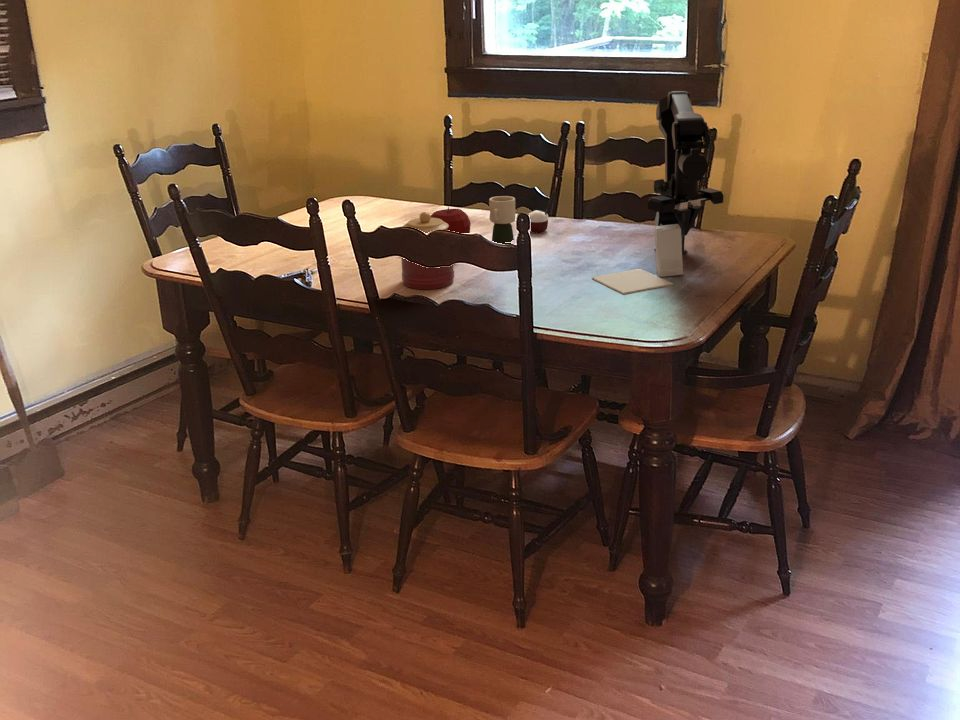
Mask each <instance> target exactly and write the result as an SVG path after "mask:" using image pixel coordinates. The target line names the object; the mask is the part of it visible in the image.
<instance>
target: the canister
mask: <svg viewBox="0 0 960 720" xmlns="http://www.w3.org/2000/svg"><path fill="white" fill-rule="evenodd" d="M430 216H431V214H430V213H429V212H427V211H423V212H421V213H420V215H419V218H413V219H410V220H408V221H407V222H406V223H405V224H404V225H403V226H402V227H411V228H416V229H419V230H421V231H423V232H425V233H428V232H430V231H433V230H447V229H448V227H449V225H448V224H447V223H446V222H444V221H443V220H441V219H438V218H430ZM400 258H401V257H400ZM454 278H455V270H454V264H453V265H452V266H450V267H440V268H426V267H422V266H420V265H417V264H415V263H412V262H409V261H407V260H406V259H403V258H401V279H402V281H403V282H402V283H403V285H404V286H406V287H407V288H410V289H414V290H436V289H443V288H444V287H447V286H450V285H451V284H453V283H454V280H455V279H454Z"/></svg>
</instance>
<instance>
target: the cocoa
mask: <svg viewBox="0 0 960 720" xmlns="http://www.w3.org/2000/svg"><path fill="white" fill-rule="evenodd" d="M554 194H555V189H553V190H552V193H551V195H550V198H549V201H548V203H547V206H546V209H545V211H542V210H537V209H536V210H533V211H532V212H529V213H528V214H529V215H530V219H531V232H530V233H532V234H543V233H544V232H546V231H547V230H548V225H549V215H548V210H549V208H550V205H551V203H552V201H553V198H554Z"/></svg>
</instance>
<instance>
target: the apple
mask: <svg viewBox="0 0 960 720" xmlns="http://www.w3.org/2000/svg"><path fill="white" fill-rule="evenodd" d="M430 218H438V219H441V220H443V221H444V222H446V223H447V224H448V225H449V227H448V229H447V230H450V231H455V232H459V233H470V234H471V225H472V224H471V221H470V217H469V215H468V214H467V213H466V212H465V211H464V210H462V209H460V208H450V207H449V206H448V207H447V209H446V208H444V209H440V210H436V211H434V212H433V213H431V214H430Z"/></svg>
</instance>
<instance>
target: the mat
mask: <svg viewBox="0 0 960 720" xmlns="http://www.w3.org/2000/svg"><path fill="white" fill-rule="evenodd" d="M593 279H594V281H595V280H596V282H597V283H600V284H601V285H603V286H605V287H607V288H610V289H611V290H614V291H615V292H616V293H617V292H618V293H619V294H620V295H627V294H634V293H639V292H644V291H648V290H653V289H658V288H664V287H668V286H669V287H670V286H674V283H673V282H671V281H668V280H666V279H664V278H663V277H659V276H657V275H655V274H653V273H650V272H649V271H646V270H644V269H641V268H636V269H629V270H623V271H618V272H613V273H608V274H607V273H606V274H602V275H597V276H596V275H595V276H591V280H593Z"/></svg>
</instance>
